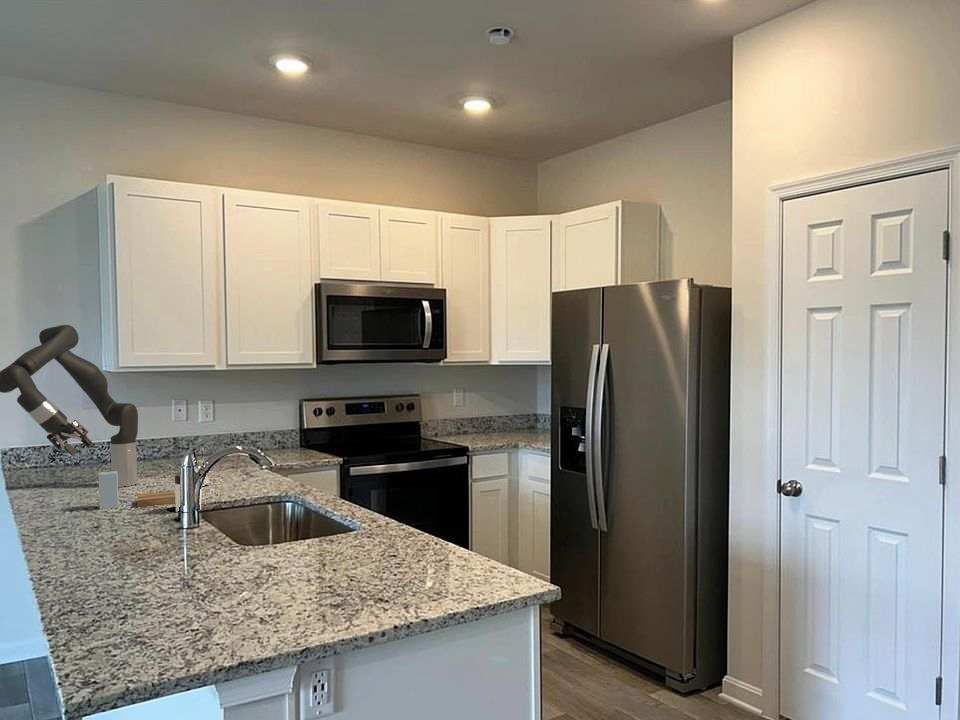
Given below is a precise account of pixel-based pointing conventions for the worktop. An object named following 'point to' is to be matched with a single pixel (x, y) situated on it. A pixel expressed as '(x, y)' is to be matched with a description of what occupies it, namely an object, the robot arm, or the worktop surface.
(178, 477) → the jar
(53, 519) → the worktop surface
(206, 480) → the flask
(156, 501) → the slab
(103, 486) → the pillar
